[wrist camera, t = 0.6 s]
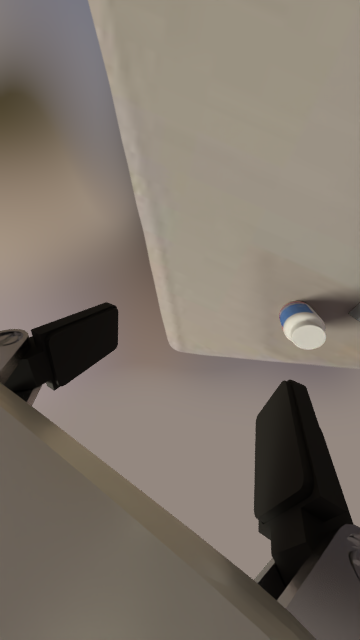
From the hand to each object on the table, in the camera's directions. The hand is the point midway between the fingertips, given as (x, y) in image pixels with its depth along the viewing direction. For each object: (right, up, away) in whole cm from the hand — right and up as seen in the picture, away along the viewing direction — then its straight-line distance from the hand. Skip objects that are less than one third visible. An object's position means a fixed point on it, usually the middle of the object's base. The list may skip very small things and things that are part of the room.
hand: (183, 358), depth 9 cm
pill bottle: (+22, +3, +23) cm, 32 cm away
